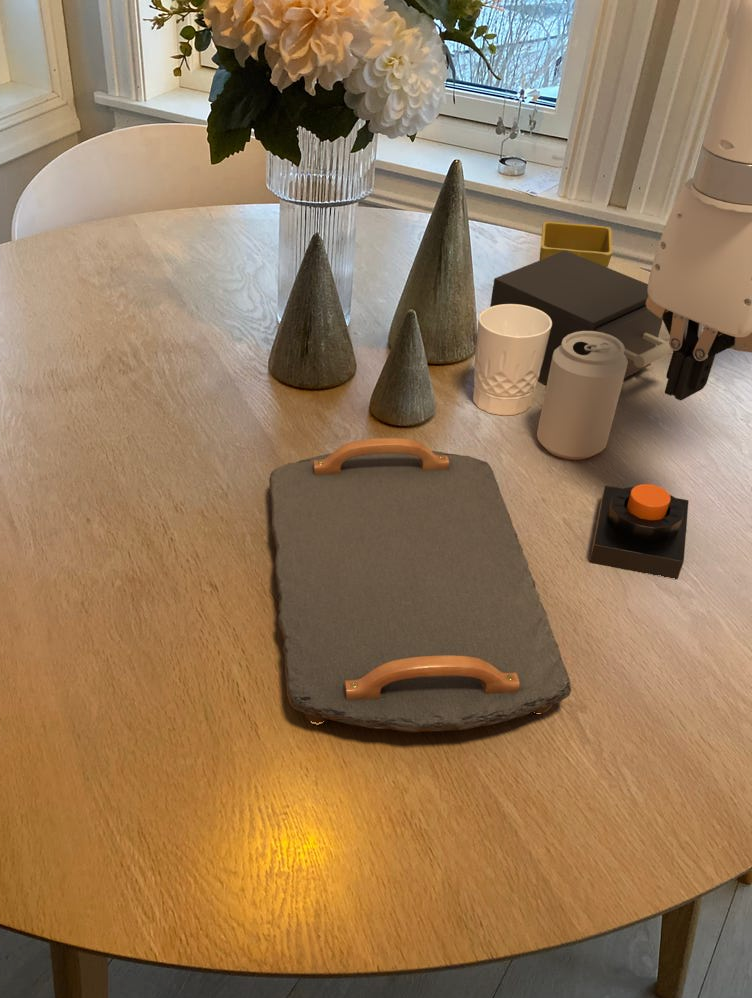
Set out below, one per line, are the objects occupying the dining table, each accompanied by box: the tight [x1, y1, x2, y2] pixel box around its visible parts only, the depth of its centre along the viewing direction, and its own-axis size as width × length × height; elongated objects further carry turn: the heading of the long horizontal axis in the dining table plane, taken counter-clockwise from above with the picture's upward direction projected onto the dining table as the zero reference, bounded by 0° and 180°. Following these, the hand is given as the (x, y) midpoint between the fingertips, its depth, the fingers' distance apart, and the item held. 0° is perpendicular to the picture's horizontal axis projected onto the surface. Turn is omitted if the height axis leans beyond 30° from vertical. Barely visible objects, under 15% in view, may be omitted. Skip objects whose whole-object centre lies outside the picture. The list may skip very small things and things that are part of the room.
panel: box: [589, 485, 689, 580], centre depth 95 cm, size 10×8×4 cm
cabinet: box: [489, 251, 648, 386], centre depth 119 cm, size 15×13×10 cm
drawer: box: [595, 306, 673, 379], centre depth 116 cm, size 18×11×8 cm, turn 38°
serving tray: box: [268, 437, 572, 733], centre depth 89 cm, size 39×23×6 cm, turn 3°
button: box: [627, 483, 671, 520], centre depth 93 cm, size 4×4×2 cm
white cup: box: [472, 304, 552, 416], centre depth 112 cm, size 8×8×10 cm
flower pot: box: [538, 221, 613, 268], centre depth 130 cm, size 9×9×9 cm
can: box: [536, 331, 628, 461], centre depth 104 cm, size 8×8×12 cm
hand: (682, 391), depth 87 cm, fingers closed
